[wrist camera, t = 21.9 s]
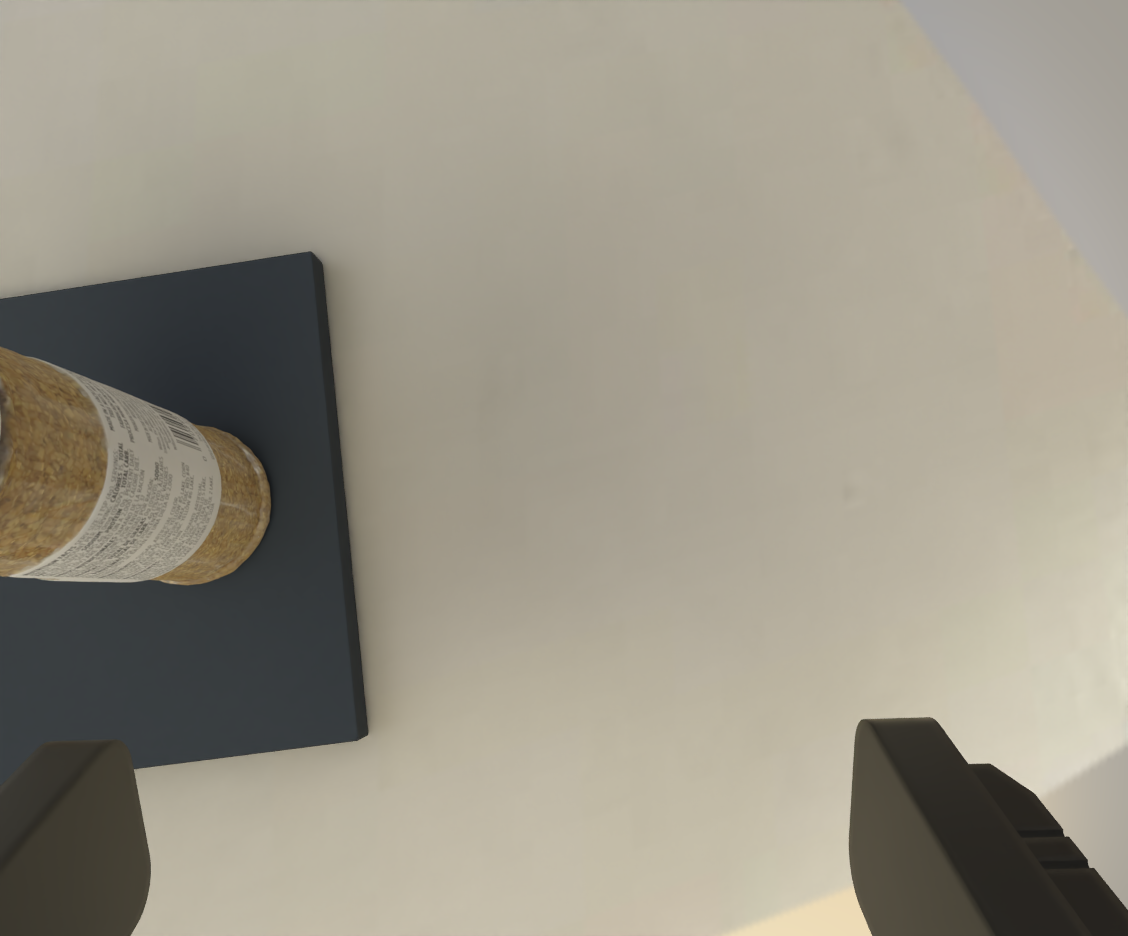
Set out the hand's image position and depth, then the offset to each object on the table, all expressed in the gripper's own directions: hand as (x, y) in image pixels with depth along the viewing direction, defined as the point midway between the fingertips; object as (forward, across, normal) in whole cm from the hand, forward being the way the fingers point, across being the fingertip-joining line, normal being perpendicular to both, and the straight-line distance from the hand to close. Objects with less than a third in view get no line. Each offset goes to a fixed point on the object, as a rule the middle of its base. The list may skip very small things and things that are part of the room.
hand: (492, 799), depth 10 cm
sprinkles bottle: (+16, +10, +2) cm, 19 cm away
